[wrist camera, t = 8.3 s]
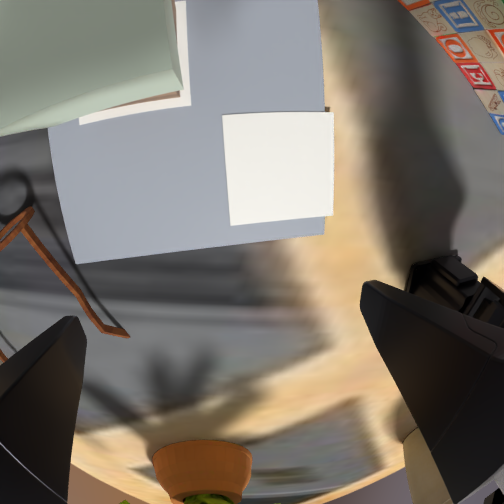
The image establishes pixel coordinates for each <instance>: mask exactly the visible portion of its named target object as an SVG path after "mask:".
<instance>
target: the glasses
mask: <svg viewBox="0 0 504 504" xmlns="http://www.w3.org/2000/svg"><path fill="white" fill-rule="evenodd" d="M34 212H35V211H34V209H33V208H32V206H30V207H28V208H26V209H25V210H24V211H22V212H21V213H20V214H18V215H17V216H16V217H15V218H13V219H12V220H11V221H10V222H9V223H8V224H7V225H6V226H5V227H4V228H3V229H2V230H1V231H0V240H1V238H2V237H3V236H4V235H5V234H6V233H7V231H8V230H9V229H10V228H12V227H13V226H14V225H15V224H16V223H17V222H18V221H20V220H21V219H22V220H21V221H20V222H19V223H18V225H17V226H16V227H15V228H14V229H13V230H12V231H11V232H10V233H9V234H8V235H7V236H6V237H5V238H4V239H3V240H2V241H1V242H0V251H1V250H2V249H3V248H5V247H6V246H7V245H8V244H9V243H10V242H11V241H12V240H13V239H14V238H15V237H16V236H17V235H18V233H19V232H20V231H21V232H22V233H23V235H24V236H25V237H26V239H27V240H28V241H29V242H30V244H31V245H32V246H33V247H34V249H35V250H36V251H37V252H38V254H39V255H40V256H41V257H42V259H43V260H44V261H45V262H46V263H47V265H48V266H49V267H50V268H51V269H52V271H53V272H54V273H55V274H56V275H57V276H58V278H59V279H60V280H61V281H62V282H63V283H64V284H65V285H66V287H67V288H68V289H69V290H70V291H71V292H72V293H73V294H74V295H75V296H76V298H77V300H78V301H79V303H80V305H81V306H82V308H83V310H84V311H85V313H86V315H87V316H88V317H89V319H90V320H91V321H92V322H93V323H94V325H95V326H96V327H97V328H98V329H99V330H100V332H101V333H104V334H109V335H113V336H118V337H123V338H130V336H129V334H128V333H127V332H126V331H125V330H124V329H121V328H117V327H113V326H109V325H105V324H103V322H102V321H101V320H100V318H99V317H98V316H97V315H96V313H95V312H94V311H93V309H92V308H91V306H90V305H89V303H88V301H87V300H86V298H85V296H84V294H83V293H82V291H81V289H80V288H79V287H78V286H77V285H76V284H75V282H74V281H73V280H72V279H71V278H70V277H69V275H68V274H67V273H66V272H65V271H64V270H63V268H62V267H61V266H60V265H59V264H58V262H57V261H56V260H55V259H54V258H53V256H52V255H51V254H50V253H49V251H48V250H47V249H46V248H45V246H44V245H43V244H42V243H41V241H40V240H39V239H38V237H37V236H36V235H35V233H34V232H33V231H32V229H31V228H30V227H29V225H28V224H27V223H28V222H29V220H30V219H31V217H32V216H33V214H34ZM0 359H1V360H2V362H3V363H4V362H5V361H6V360H8V358H7V357H6V356H5V355H4V354H3V352H2V351H1V349H0Z"/></svg>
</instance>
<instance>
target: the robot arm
mask: <svg viewBox="0 0 504 504" xmlns="http://www.w3.org/2000/svg"><path fill="white" fill-rule="evenodd" d="M461 260H462V259H461V257H459V256H458V255H456V256H447V257H441V258H436V259H433V260H430V261H425V262H419V263H415V264H414V265H412V267H411V271H410V276H409V281H408V285H407V290H406V291H403V290H401V289H398V288H395V287H393V286H390V285H388V284H385V283H382V282H380V281H377V280H371V281H366V282H364V283H363V286H362V292H361V299H360V310H361V312H362V315H363V317H364V319H365V322H366V324H367V326H368V329H369V331H370V334H371V336H372V338H373V341H374V343H375V345H376V347H377V349H378V351H379V353H380V355H381V357H382V359H383V360H384V362H385V364H386V366H387V368H388V370H389V372H390V373H391V375H392V377H393V379H394V381H395V383H396V385H397V387H398V388H399V390H400V392H401V394H402V396H403V398H404V400H405V402H406V404H407V406H408V408H409V410H410V412H411V414H412V416H413V418H414V420H415V422H416V424H417V426H418V428H419V430H420V432H421V434H422V436H423V438H424V440H425V442H426V444H427V446H428V448H429V450H430V452H431V455H432V457H433V459H434V462H435V464H436V466H437V468H438V470H439V472H440V475H441V477H442V479H443V481H444V484H445V486H446V488H447V490H448V493H449V495H450V497H451V500H452V502H453V504H459V503H460V502H462V501H463V500H465V499H467V498H468V497H469V496H471V495H473V494H474V493H475V492H477V491H478V490H480V489H481V488H483V487H484V486H485V485H487V484H488V483H490V482H491V481H492V480H495V482H496V483H497V485H498V487H499V488H498V489H497V490H496V491H494V492H493V493H492V494H491V495H489V496H488V497H487V498H485V500H484V504H504V290H503V289H502V288H500V287H499V286H497V285H496V284H494V283H493V282H491V281H490V280H488V279H487V278H485V277H483V278H482V280H481V283H480V282H479V281H478V276H477V274H476V273H474V272H473V271H472V270H470V269H469V268H468V267H466V266H465V265H463V264H462V263H461ZM86 347H87V339H86V335H85V333H84V330H83V328H82V325H81V323H80V320H79V318H78V317H77V316H65V317H63V318H62V319H60V320H59V321H58V322H56V323H55V324H54V325H52V326H51V327H50V328H48V329H47V330H46V331H44V332H43V333H42V334H40V335H39V336H38V337H36V338H35V339H34V340H32V341H31V342H30V343H28V344H27V345H26V346H24V347H23V348H22V349H21V350H19V351H18V352H17V353H15V354H14V355H13V356H12V357H10V358H9V359H8V360H6V361H5V362H4V363H3V364H1V365H0V504H67V499H68V484H69V483H68V482H69V472H70V462H71V453H72V445H73V437H74V430H75V423H76V417H77V411H78V405H79V400H80V394H81V389H82V383H83V374H84V364H85V355H86Z"/></svg>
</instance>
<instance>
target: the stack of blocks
mask: <svg viewBox="0 0 504 504" xmlns="http://www.w3.org/2000/svg"><path fill="white" fill-rule="evenodd" d="M398 1H399V2H400V3H401V4H402V5H403V6H404V7H405V8H406V9H407V10H408V11H409V12H410V13H411V14H412V15H413V16H414V17H415V19H416V20H417V21H418V22H419V23H420V24H421V25H422V26H423V27H424V28H425V29H426V30H427V31H428V33H429V34H430V35H431V36H432V37H434V38H435V39H436V40H437V42H438V43H439V44H440V45H441V46H442V47H443V48H444V50H445V51H446V52H447V54H448V55H449V56H450V57H451V59H452V60H453V61H454V62H455V63H456V64H457V66H458V67H459V68H460V70H461V71H462V73H463V74H464V75H465V77H466V78H467V80H468V81H469V82H470V84H471V85H472V86H473V87H474V91H475V92H476V94H477V95H478V97H479V98H480V100H481V101H482V103H483V104H484V106H485V108H486V109H487V111H488V112H489V114H490V116H491V118H492V119H493V121H494V123H495V124H496V126H497V128H498V129H499V131H500V133H501V134H502V135H504V0H398Z"/></svg>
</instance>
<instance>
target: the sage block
mask: <svg viewBox="0 0 504 504" xmlns="http://www.w3.org/2000/svg"><path fill="white" fill-rule="evenodd" d="M179 90H184V88H183V81H182V75H181V68H180V61H179V54H178V47H177V40H176V33H175V25H174V18H173V10H172V2H171V0H0V136H5V135H10V134H14V133H19V132H25V131H30V130H36V129H41V128H48V127H54V126H57V125H60V124H62V123H65V122H68V121H71V120H73V119H76V118H79V117H82V116H85V115H88V114H91V113H94V112H97V111H101V110H104V109H107V108H111V107H114V106H117V105H121V104H125V103H128V102H132V101H136V100H140V99H144V98H148V97H152V96H156V95H161V94H165V93H170V92H174V91H179Z"/></svg>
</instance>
